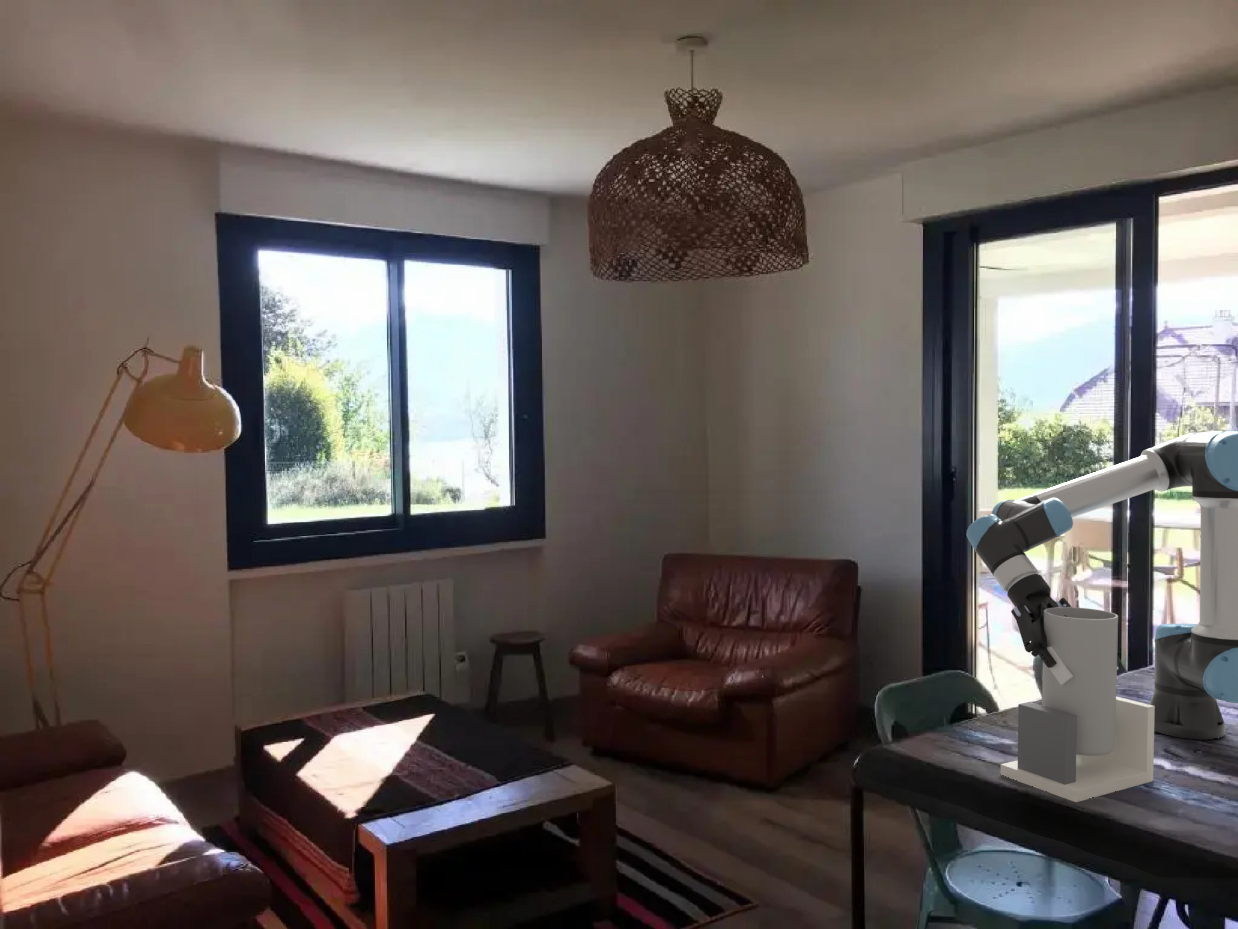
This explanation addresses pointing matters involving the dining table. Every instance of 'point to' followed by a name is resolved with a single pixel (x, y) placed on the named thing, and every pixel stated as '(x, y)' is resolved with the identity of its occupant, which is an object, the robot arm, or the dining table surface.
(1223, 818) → the dining table surface
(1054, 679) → the cylinder vase
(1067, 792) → the white corner bracket
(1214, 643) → the robot arm
